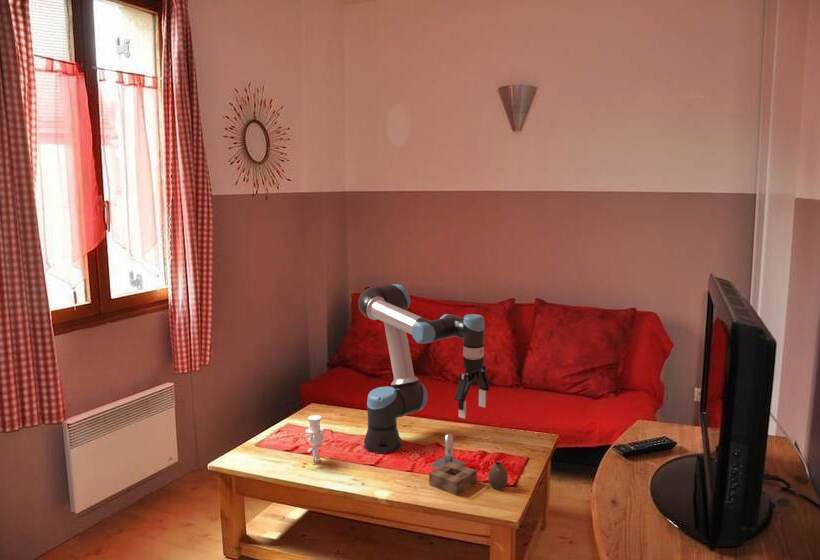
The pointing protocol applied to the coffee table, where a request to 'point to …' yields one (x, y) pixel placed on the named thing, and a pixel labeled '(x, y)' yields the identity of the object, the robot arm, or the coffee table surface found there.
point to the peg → (448, 448)
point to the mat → (442, 462)
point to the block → (453, 478)
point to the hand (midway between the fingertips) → (472, 412)
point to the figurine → (315, 435)
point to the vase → (498, 476)
